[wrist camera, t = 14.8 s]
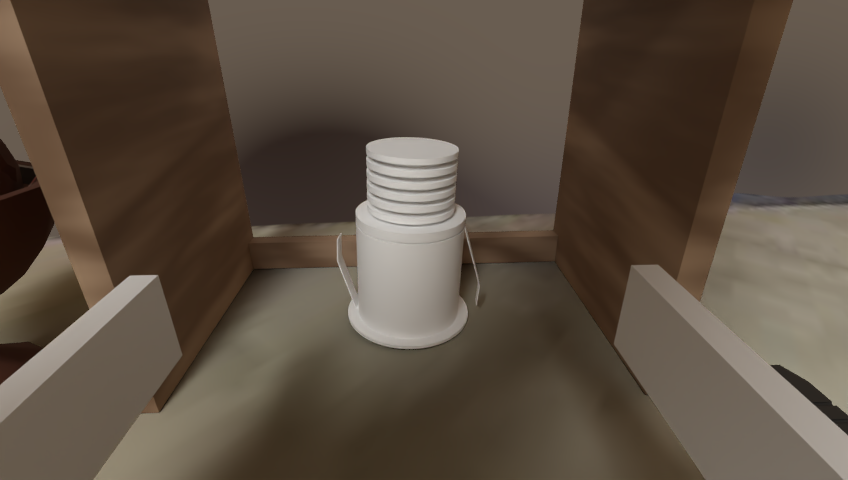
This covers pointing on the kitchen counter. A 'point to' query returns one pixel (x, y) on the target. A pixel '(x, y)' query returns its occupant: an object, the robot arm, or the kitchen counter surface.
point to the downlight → (409, 246)
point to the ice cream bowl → (19, 240)
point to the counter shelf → (241, 252)
